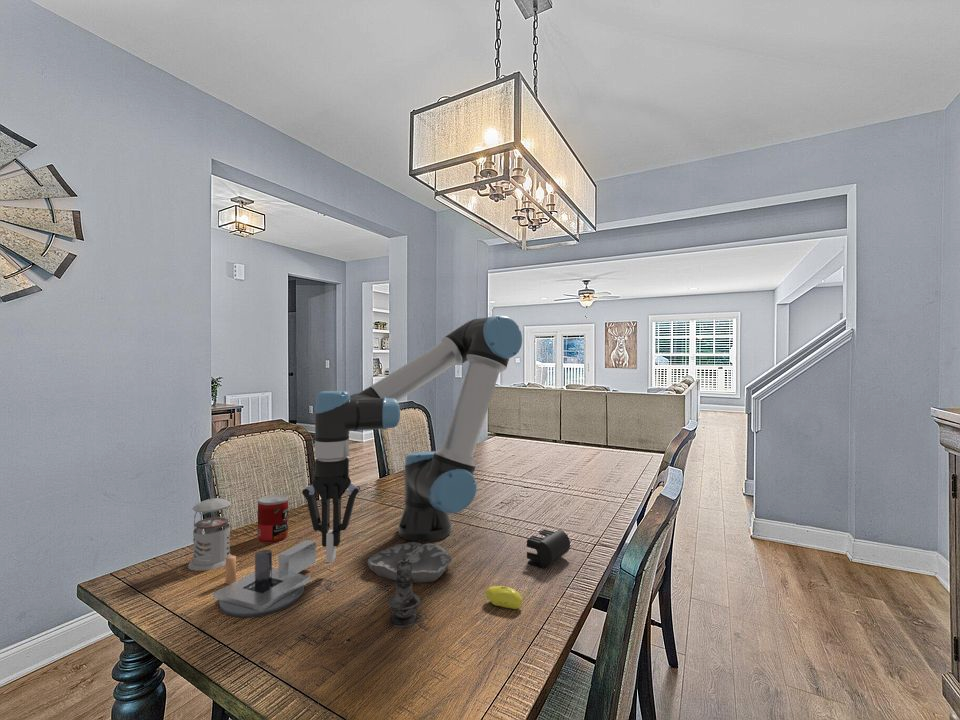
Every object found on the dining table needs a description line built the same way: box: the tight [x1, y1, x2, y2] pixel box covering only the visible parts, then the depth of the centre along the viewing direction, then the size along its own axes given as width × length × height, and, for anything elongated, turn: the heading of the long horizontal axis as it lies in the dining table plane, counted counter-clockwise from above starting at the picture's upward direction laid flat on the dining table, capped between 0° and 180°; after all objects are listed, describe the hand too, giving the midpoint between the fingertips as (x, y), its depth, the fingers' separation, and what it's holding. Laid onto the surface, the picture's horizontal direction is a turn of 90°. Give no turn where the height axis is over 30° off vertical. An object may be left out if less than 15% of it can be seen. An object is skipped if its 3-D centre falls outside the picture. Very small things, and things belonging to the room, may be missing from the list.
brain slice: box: [367, 541, 453, 584], centre depth 108 cm, size 20×17×3 cm
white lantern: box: [187, 459, 234, 572], centre depth 111 cm, size 10×12×25 cm
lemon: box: [484, 585, 523, 610], centre depth 92 cm, size 4×8×4 cm, turn 61°
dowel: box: [225, 555, 237, 586], centre depth 101 cm, size 2×2×6 cm
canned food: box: [257, 494, 290, 544], centre depth 126 cm, size 8×8×11 cm
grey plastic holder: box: [212, 539, 317, 612], centre depth 98 cm, size 20×13×5 cm, turn 159°
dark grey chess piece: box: [388, 557, 421, 628], centre depth 87 cm, size 6×6×12 cm
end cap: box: [526, 529, 571, 570], centre depth 112 cm, size 10×7×7 cm
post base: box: [218, 549, 305, 618], centre depth 95 cm, size 16×16×9 cm
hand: (330, 559), depth 104 cm, fingers closed
